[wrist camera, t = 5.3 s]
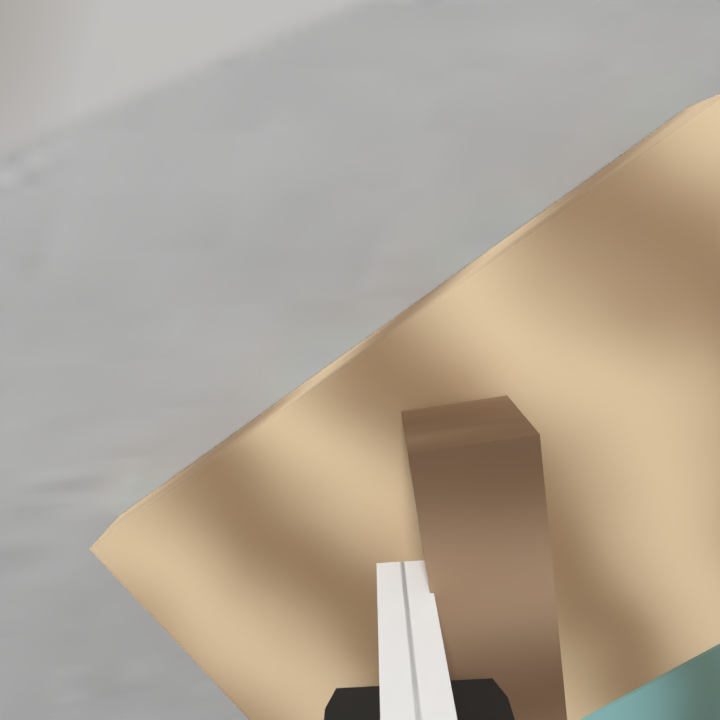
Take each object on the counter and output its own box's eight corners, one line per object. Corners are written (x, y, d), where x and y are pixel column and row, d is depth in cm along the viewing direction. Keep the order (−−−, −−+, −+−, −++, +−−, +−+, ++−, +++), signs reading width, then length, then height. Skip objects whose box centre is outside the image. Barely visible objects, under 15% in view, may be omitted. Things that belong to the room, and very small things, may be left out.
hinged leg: (571, 852, 19) (608, 966, 16) (457, 864, 19) (473, 978, 16) (525, 392, 15) (562, 430, 12) (383, 413, 15) (386, 456, 12)
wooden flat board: (445, 874, 22) (465, 1055, 17) (118, 515, 19) (29, 615, 14) (968, 605, 19) (1179, 736, 14) (689, 106, 15) (837, 47, 10)
